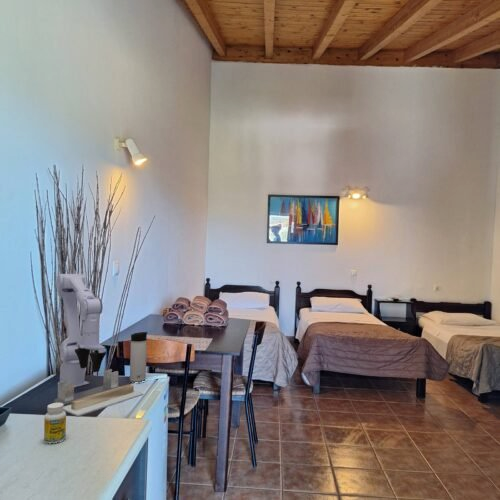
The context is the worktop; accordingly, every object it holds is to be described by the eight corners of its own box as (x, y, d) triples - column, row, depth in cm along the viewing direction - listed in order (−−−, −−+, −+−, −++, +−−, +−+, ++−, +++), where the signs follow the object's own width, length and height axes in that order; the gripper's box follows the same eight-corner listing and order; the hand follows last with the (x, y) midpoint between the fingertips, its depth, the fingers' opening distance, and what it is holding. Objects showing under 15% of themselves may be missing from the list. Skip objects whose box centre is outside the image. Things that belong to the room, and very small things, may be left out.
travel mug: (142, 384, 160) (143, 333, 160) (126, 383, 161) (128, 332, 162) (149, 379, 166) (150, 331, 167) (134, 378, 167) (135, 330, 168)
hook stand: (53, 403, 138) (54, 382, 138) (111, 386, 157) (111, 368, 157) (63, 407, 135) (63, 386, 135) (121, 389, 153) (121, 371, 154)
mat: (60, 409, 133) (60, 407, 133) (126, 389, 154) (126, 387, 154) (77, 416, 127) (77, 414, 127) (143, 394, 148) (143, 393, 148)
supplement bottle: (61, 434, 115) (62, 400, 115) (68, 440, 111) (69, 405, 111) (41, 439, 111) (42, 404, 111) (47, 446, 107) (48, 410, 107)
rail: (71, 408, 132) (71, 401, 132) (129, 390, 151) (129, 384, 151) (75, 410, 131) (75, 402, 131) (133, 392, 149) (133, 385, 149)
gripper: (69, 331, 147) (68, 368, 147) (92, 336, 139) (91, 376, 139) (86, 328, 153) (85, 364, 153) (110, 333, 145) (109, 371, 144)
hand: (89, 369), depth 146 cm, fingers open, 7 cm apart
